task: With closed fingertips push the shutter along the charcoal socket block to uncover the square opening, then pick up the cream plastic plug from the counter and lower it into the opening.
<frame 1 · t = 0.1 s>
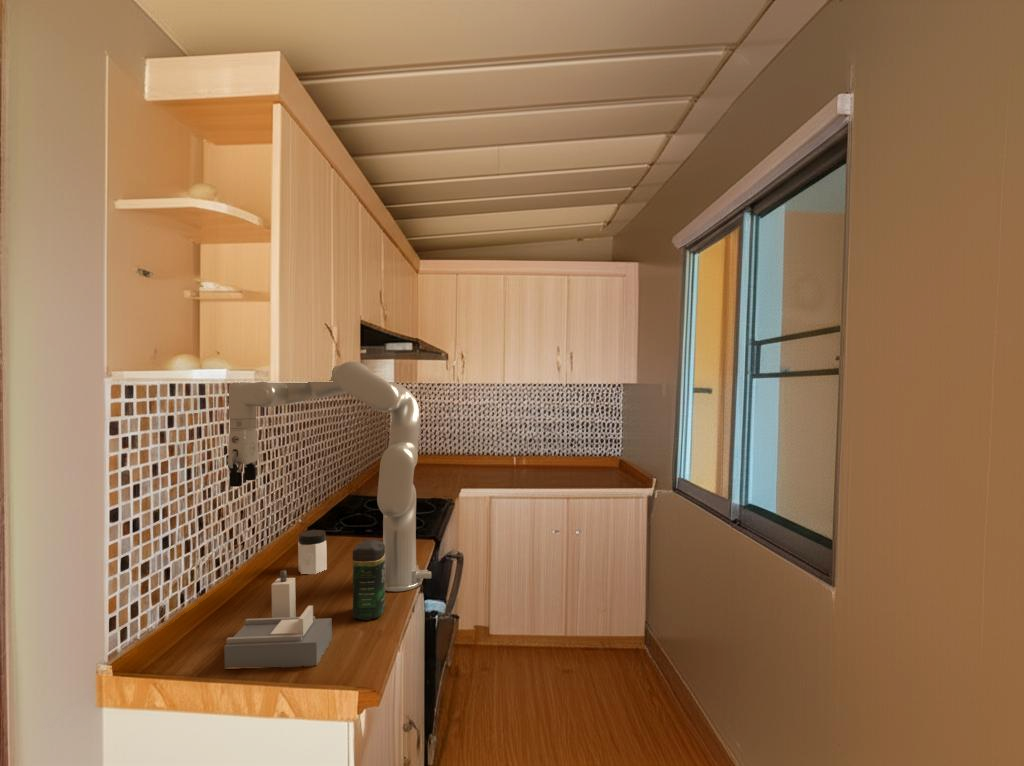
hand: (243, 483, 160), 31 cm above the table, tool pointing down, fingers open, 9 cm apart
jar: (312, 571, 176), on the table
coffee jar: (369, 614, 143), on the table
socket block: (292, 653, 122), on the table
shutter: (292, 621, 122), point 7 cm above the table, slide at 0.0 cm
plug: (284, 630, 134), on the table
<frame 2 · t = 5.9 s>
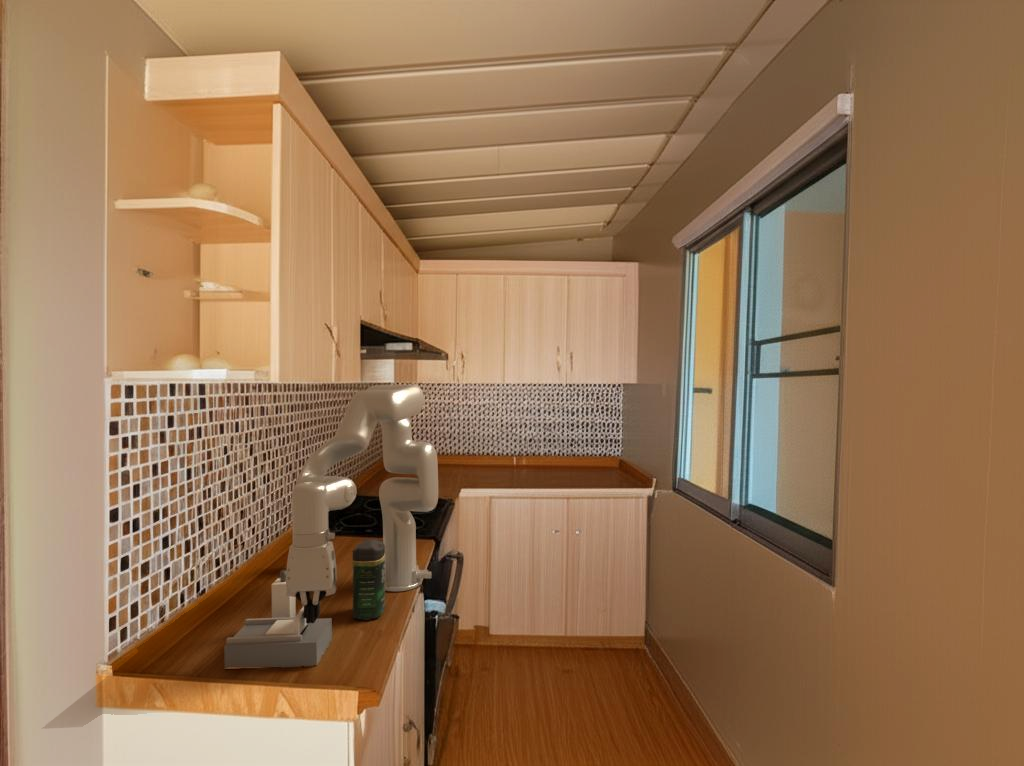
hand: (312, 620, 122), 7 cm above the table, tool pointing down, fingers closed
shutter: (287, 621, 122), point 7 cm above the table, slide at 1.1 cm, touching gripper
everything else where it was.
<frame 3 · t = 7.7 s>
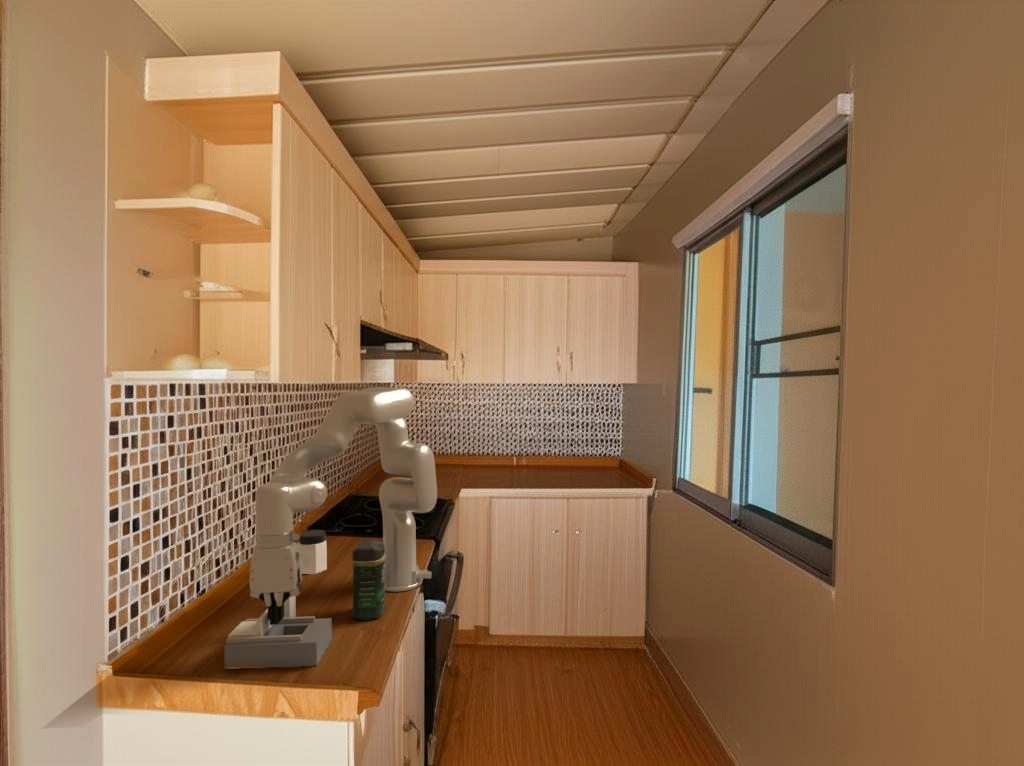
hand: (276, 622, 122), 7 cm above the table, tool pointing down, fingers closed
shutter: (251, 622, 122), point 7 cm above the table, slide at 8.9 cm, touching gripper
everything else where it was.
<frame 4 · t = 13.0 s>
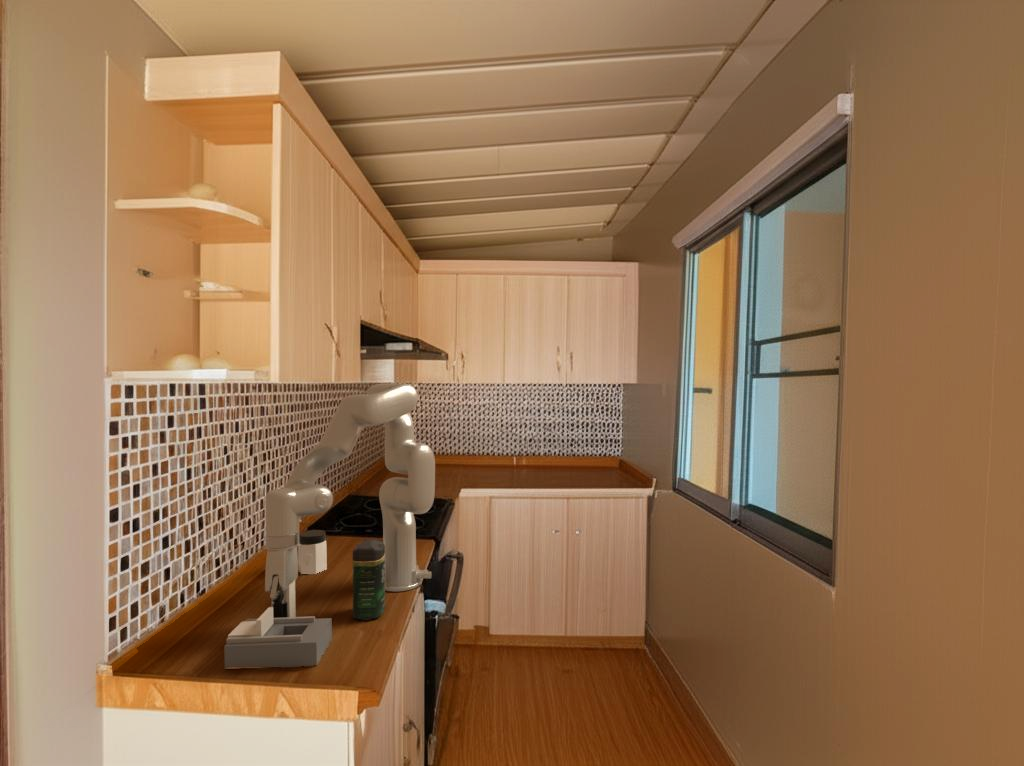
hand: (283, 614, 134), 4 cm above the table, tool pointing down, fingers closed on plug, 4 cm apart
shutter: (251, 622, 122), point 7 cm above the table, slide at 8.9 cm
plug: (284, 630, 134), on the table, touching gripper
everything else where it was.
when the fingers open (6 cm above the table, at t = 19.3 s): plug drops 2 cm, resting in socket block.
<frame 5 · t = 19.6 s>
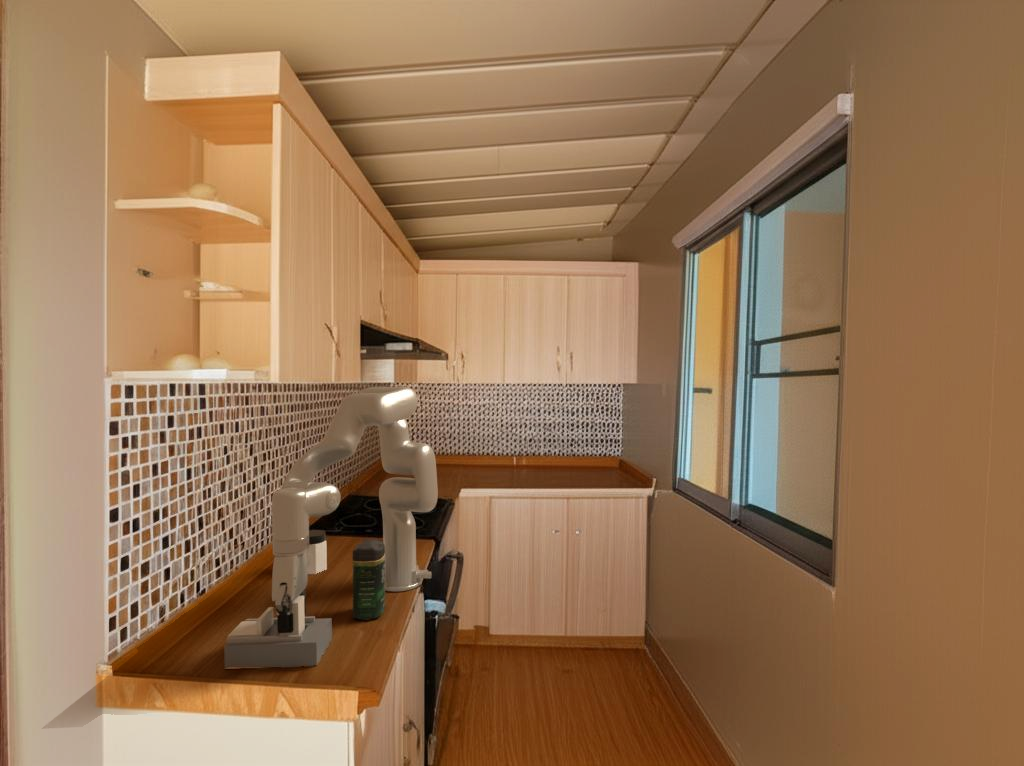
hand: (292, 623, 122), 7 cm above the table, tool pointing down, fingers open, 7 cm apart
plug: (292, 653, 122), resting in socket block
everything else where it was.
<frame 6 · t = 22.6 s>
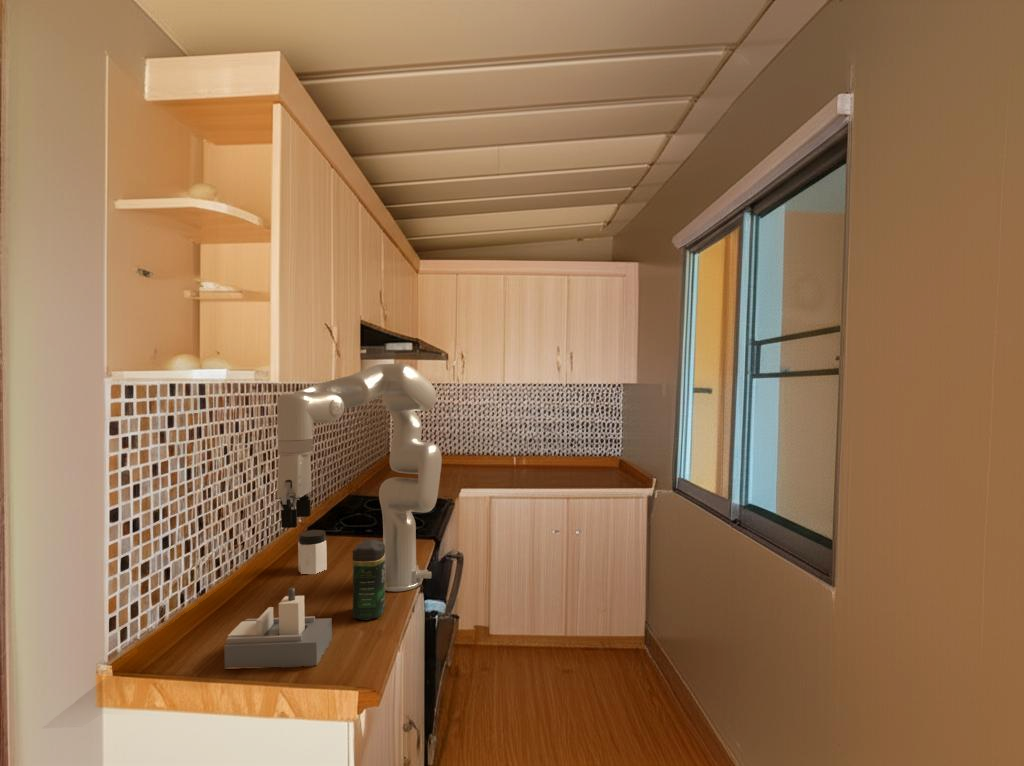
hand: (296, 521, 126), 28 cm above the table, tool pointing down, fingers open, 9 cm apart
nothing on the table moved.
at the end: shutter slide at 8.9 cm; plug 0.1 cm off-centre on the socket block, point 0.0 cm above the socket block's base; plug tilted 0° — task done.
